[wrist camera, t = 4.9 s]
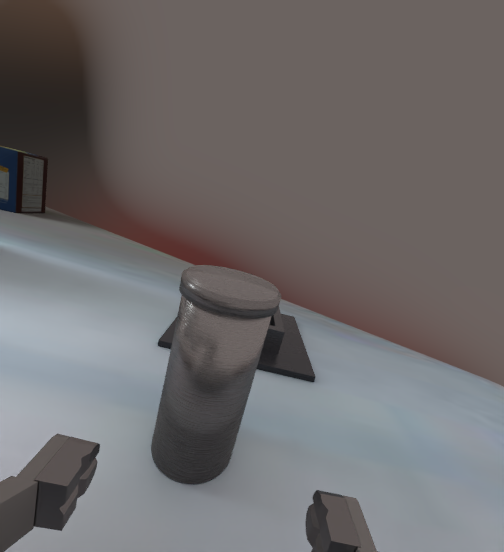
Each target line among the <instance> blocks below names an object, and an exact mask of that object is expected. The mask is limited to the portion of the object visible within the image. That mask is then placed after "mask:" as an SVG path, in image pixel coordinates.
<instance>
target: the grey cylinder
mask: <svg viewBox="0 0 504 552" xmlns="http://www.w3.org/2000/svg"><path fill="white" fill-rule="evenodd" d="M179 291H180V293H181V294H182V297H181V302H180V307H179V312H178V317H177V321H176V326H175V331H174V336H173V341H172V346H171V351H170V356H169V361H168V366H167V371H166V375H165V380H164V385H163V390H162V395H161V400H160V405H159V410H158V415H157V420H156V425H155V430H154V434H153V439H152V444H151V452H152V457H153V460H154V462H155V464H156V466H157V467H158V469H159V470H160V471H161V472H162V473H163V474H165V475H166V476H167V477H169V478H170V479H172V480H175V481H177V482H181V483H186V484H199V483H204V482H207V481H210V480H212V479H214V478H216V477H217V476H218V475H220V474H221V473H222V472H223V471H224V470H225V468H226V467H227V466H228V464H229V462H230V459H231V456H232V452H233V449H234V445H235V442H236V438H237V435H238V431H239V428H240V424H241V421H242V417H243V414H244V410H245V407H246V404H247V400H248V397H249V393H250V390H251V386H252V383H253V379H254V376H255V372H256V369H257V365H258V362H259V358H260V355H261V351H262V348H263V345H264V341H265V338H266V334H267V331H268V327H269V324H270V320H271V317H272V316H273V315H274V314H275V313H276V312H277V309H278V306H279V303H280V299H281V294H280V293H279V291H278V289H277V288H276V287H275V286H274V285H273V284H271V283H270V282H268V281H266V280H264V279H262V278H259V277H257V276H254V275H252V274H249V273H245V272H242V271H238V270H234V269H230V268H225V267H218V266H209V265H197V266H192V267H189V268H188V269H186V270H184V271H183V272H182V277H181V282H180V287H179Z"/></svg>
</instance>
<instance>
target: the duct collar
mask: <svg viewBox="0 0 504 552" xmlns="http://www.w3.org/2000/svg"><path fill="white" fill-rule="evenodd" d="M177 317H178V316H177ZM176 321H177V318H176V319H175V320H174V322H173V323H172V324H171V325H170V327H169V328H168V329H167V330H166V332H165V333H164V334H163V336H162V337H161V338H160V339H159V342H158V346H162V347H166V348H170V349H171V346H172V341H173V336H174V331H175V326H176ZM257 369H260V370H264V371H269V372H273V373H277V374H281V375H286V376H290V377H294V378H299V379H303V380H307V381H311V382H314V380H315V374H314V372H313V369H312V366H311V363H310V360H309V357H308V355H307V352H306V349H305V346H304V343H303V341H302V338H301V335H300V332H299V329H298V326H297V324H296V321H295V318H294V317H292V316H288V315H284V314H280V310H279V306H278V309H277V312H276V313H275V314H274V315H273V316H272V317H271V320H270V324H269V327H268V331H267V334H266V338H265V341H264V345H263V348H262V351H261V355H260V358H259V362H258V365H257Z"/></svg>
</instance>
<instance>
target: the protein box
mask: <svg viewBox="0 0 504 552" xmlns="http://www.w3.org/2000/svg"><path fill="white" fill-rule="evenodd" d="M47 165H48V159H47V158H45V157H42V156H38V155H34V154H30V153H27V152H23V151H19V150H15V149H11V148H7V147H3V146H0V209H1V210H5V211H9V212H13V213H45V200H46V182H47Z"/></svg>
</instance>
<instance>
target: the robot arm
mask: <svg viewBox="0 0 504 552" xmlns="http://www.w3.org/2000/svg"><path fill="white" fill-rule="evenodd" d="M99 448H100V444H98V443H94V442H90V441H86V440H82V439H78V438H74V437H69V436H65V435H61V434H56V435H55V436H53V437H52V438H51V439H50V440H49V441H48V442H47V443H46V445H45V446H44V447H43V448H42V449H41V450H40V451H39V452H38V453H37V454H36V456H35V457H34V458H33V459H32V460H31V461H30V462H29V463H28V464H27V465H26V467H25V468H24V469H23V470H22V471H21V472H20V473H19V474H18V475H17V476H16V477H13V476H11V477H9V478H7V479H5V480H3V481H1V482H0V552H4V551H5V550H7V549H8V548H9V547H10V546H12V545H13V544H14V543H15V542H17V541H18V540H19V539H21V538H22V537H23V536H24V535H26V534H27V533H28V532H30V531H31V530H32V529H33V527H41V528H47V529H53V530H59V531H62V529H63V528H64V526H65V525H66V523H67V521H68V520H69V518H70V516H71V515H72V513H73V512H74V510H75V508H76V503H77V498H79V497H80V496H82V495H83V494H84V493H85V492H86V490H87V488H88V487H89V485H90V483H91V481H92V479H93V476H94V474H95V471H96V468H97V460H96V458H95V457H96V456H97V454H98V453H99ZM313 502H314V503H313V504H312V505H310V506H309V508H308V511H307V513H306V535H307V540H308V542H309V543H310V545H311V546H312V548H313V549H312V551H311V552H378V551H376V548H375V545H374V543H373V540H372V537H371V535H370V532H369V529H368V526H367V524H366V521H365V518H364V516H363V513H362V510H361V508H360V505H359V502H358V501H357V499H356V498H352V497H347V496H342V495H339V494H334V493H329V492H324V491H319V490H317V491H315V493H314V495H313Z"/></svg>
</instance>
